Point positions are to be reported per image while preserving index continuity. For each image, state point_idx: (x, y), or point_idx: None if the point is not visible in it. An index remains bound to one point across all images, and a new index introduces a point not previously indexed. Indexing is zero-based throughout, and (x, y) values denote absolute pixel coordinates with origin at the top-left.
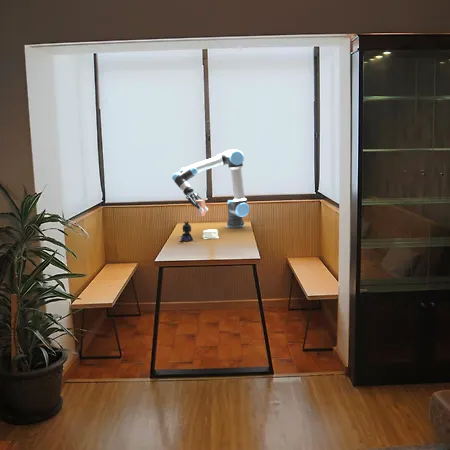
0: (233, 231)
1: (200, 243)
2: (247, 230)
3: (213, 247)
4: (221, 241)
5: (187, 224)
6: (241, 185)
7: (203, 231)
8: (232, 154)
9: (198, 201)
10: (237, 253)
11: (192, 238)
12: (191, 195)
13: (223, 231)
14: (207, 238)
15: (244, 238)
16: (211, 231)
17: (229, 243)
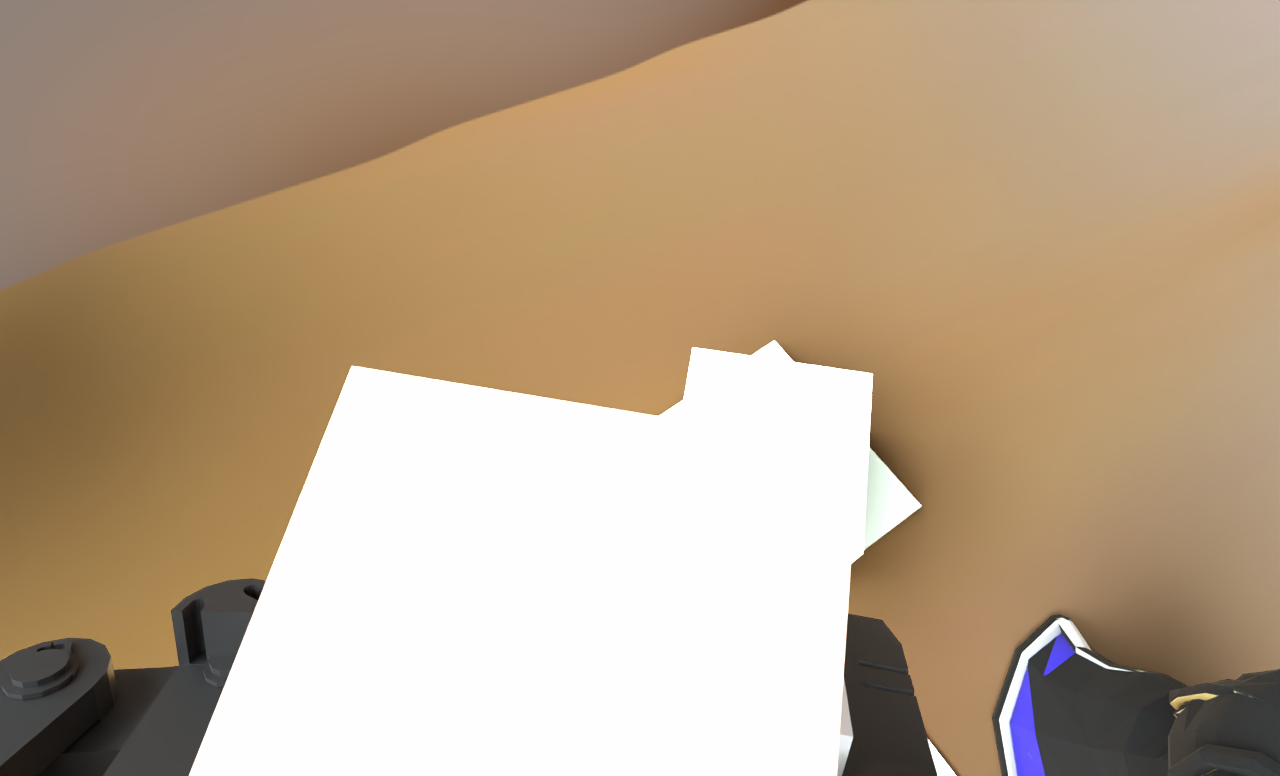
0: (142, 414)
1: (1118, 471)
2: (85, 268)
3: (1236, 211)
4: (882, 271)
5: None
6: None
7: (861, 541)
8: None
9: (824, 721)
10: None
11: (1098, 657)
12: None
13: (121, 568)
14: (868, 478)
15: (635, 116)
16: (842, 387)
17: (955, 148)
